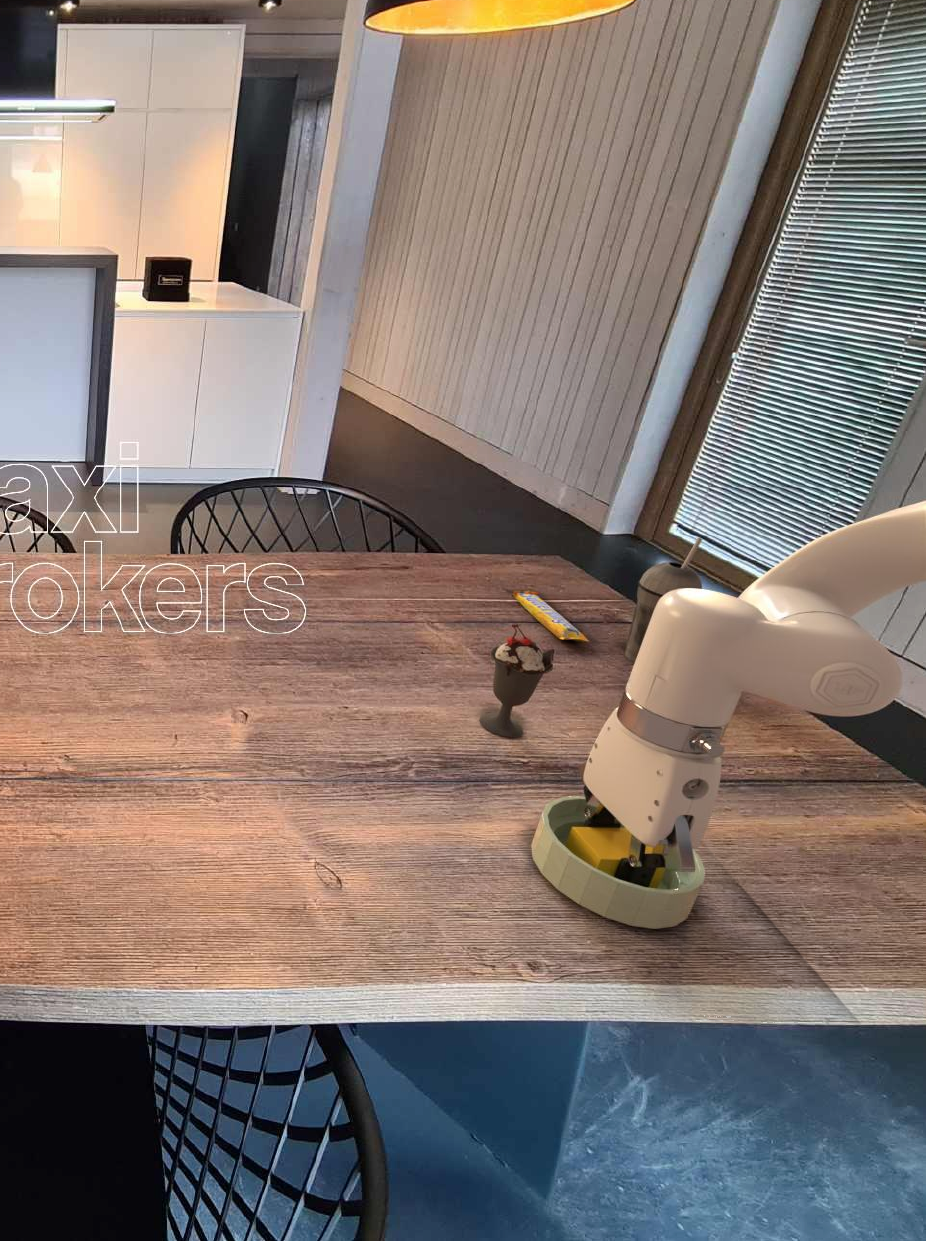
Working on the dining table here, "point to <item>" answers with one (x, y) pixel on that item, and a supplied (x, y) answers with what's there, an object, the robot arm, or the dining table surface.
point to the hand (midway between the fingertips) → (609, 869)
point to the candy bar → (548, 616)
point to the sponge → (605, 849)
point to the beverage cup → (658, 595)
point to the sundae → (515, 681)
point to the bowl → (603, 889)
